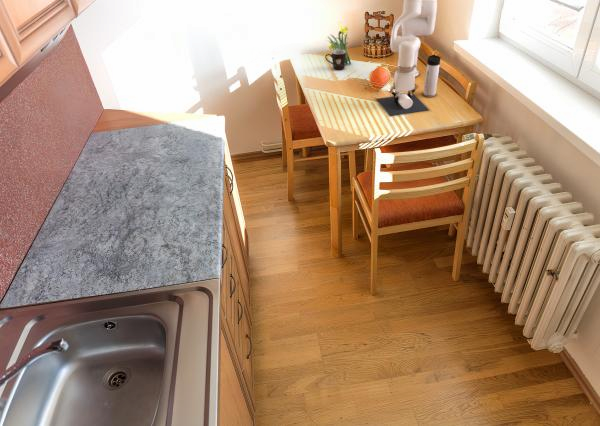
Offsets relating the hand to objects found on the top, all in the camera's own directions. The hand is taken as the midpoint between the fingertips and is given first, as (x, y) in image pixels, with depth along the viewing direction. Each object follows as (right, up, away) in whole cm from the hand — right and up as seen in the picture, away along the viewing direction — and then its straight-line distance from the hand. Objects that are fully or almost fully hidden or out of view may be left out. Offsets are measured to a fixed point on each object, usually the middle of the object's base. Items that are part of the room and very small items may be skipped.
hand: (402, 102), depth 228 cm
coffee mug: (-30, +32, +45) cm, 63 cm away
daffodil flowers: (-25, +44, +59) cm, 78 cm away
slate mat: (0, -1, +1) cm, 1 cm away
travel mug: (+16, +6, +8) cm, 19 cm away
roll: (0, -1, +1) cm, 1 cm away
